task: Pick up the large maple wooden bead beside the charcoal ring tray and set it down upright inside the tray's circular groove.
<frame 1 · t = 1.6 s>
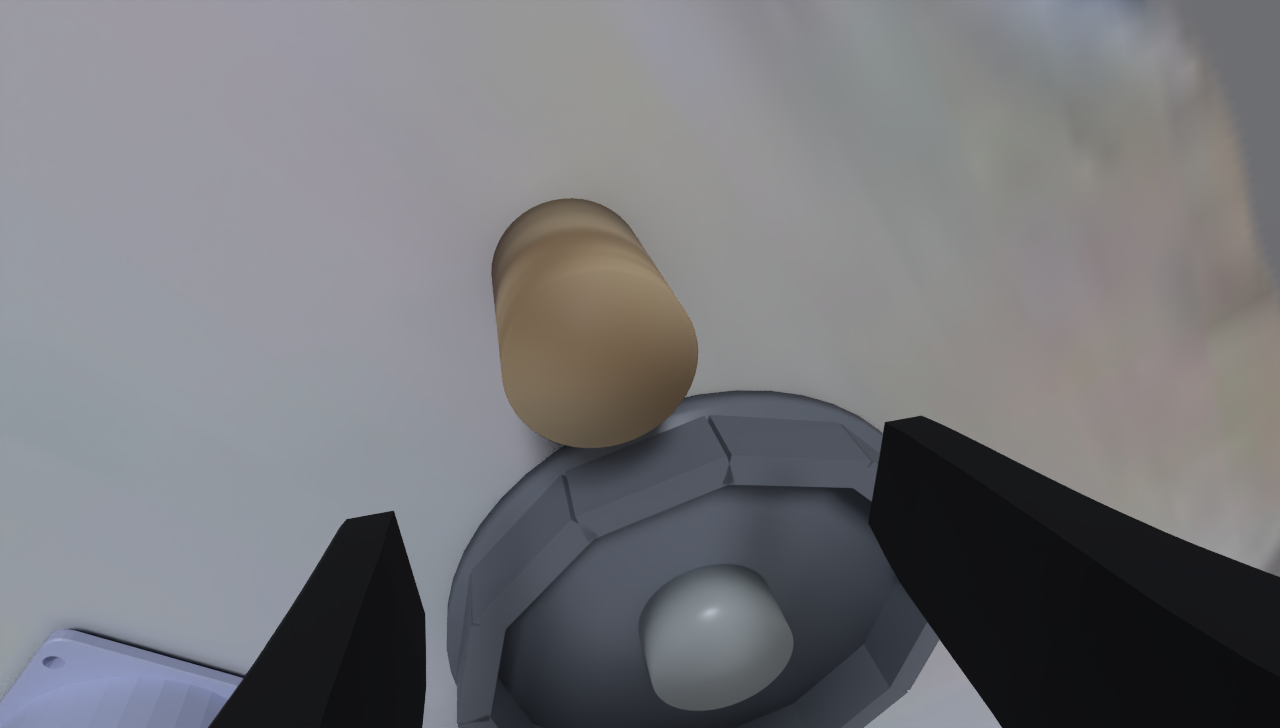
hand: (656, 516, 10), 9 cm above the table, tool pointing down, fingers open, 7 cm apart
ring tray: (699, 597, 25), on the table
bead: (569, 273, 18), on the table
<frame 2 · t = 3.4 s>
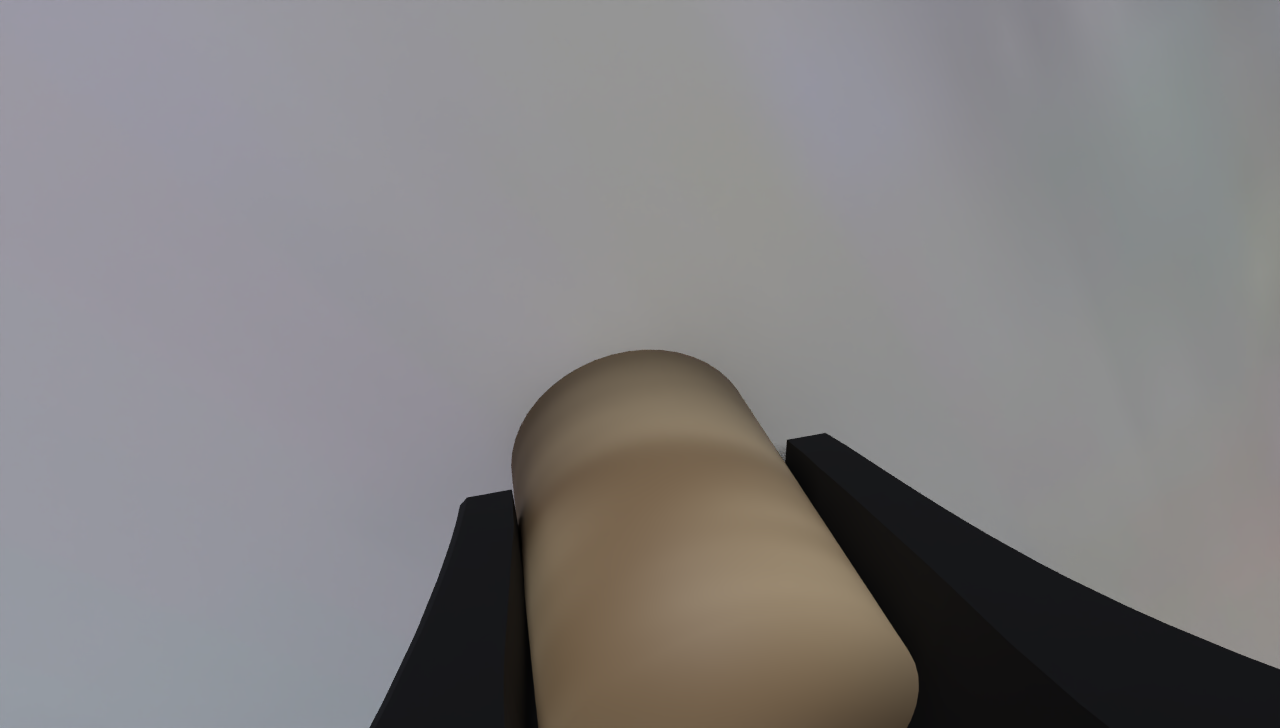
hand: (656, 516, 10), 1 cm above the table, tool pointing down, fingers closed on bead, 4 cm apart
bead: (634, 457, 11), on the table, touching gripper
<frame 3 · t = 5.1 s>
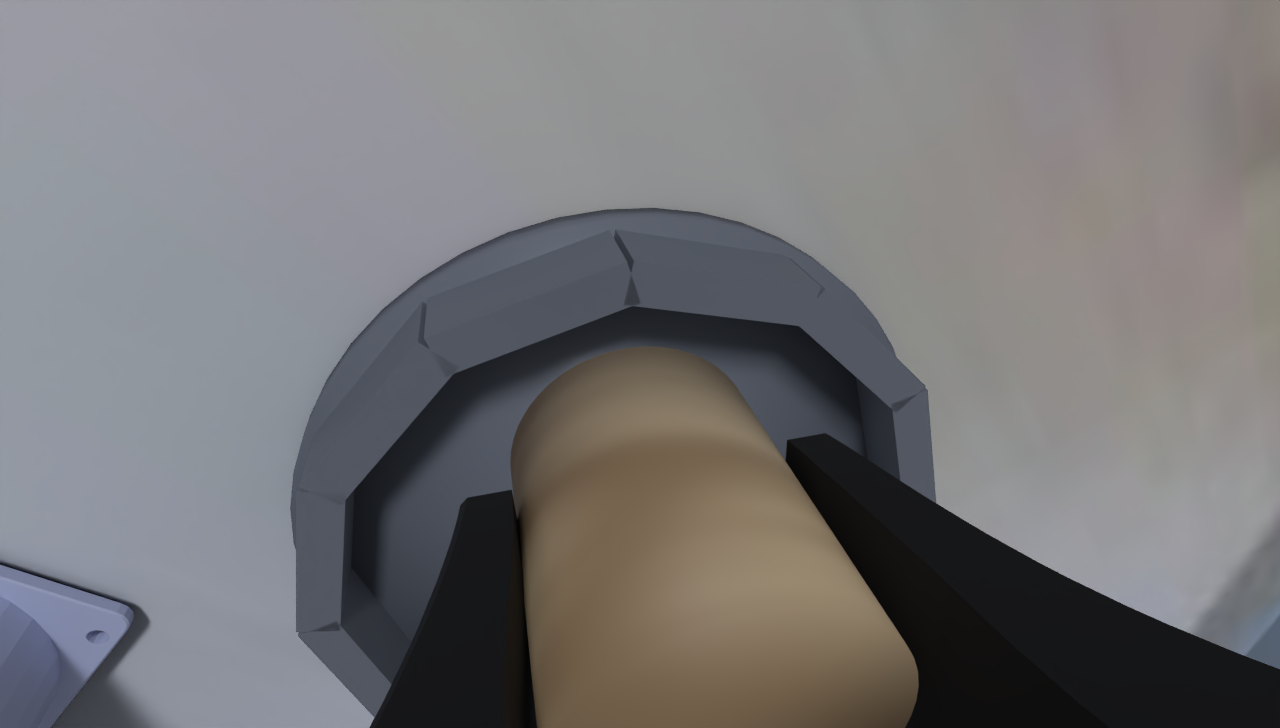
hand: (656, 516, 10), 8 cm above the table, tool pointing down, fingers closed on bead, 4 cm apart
ring tray: (622, 498, 21), on the table
bead: (634, 454, 11), point 7 cm above the table, touching gripper
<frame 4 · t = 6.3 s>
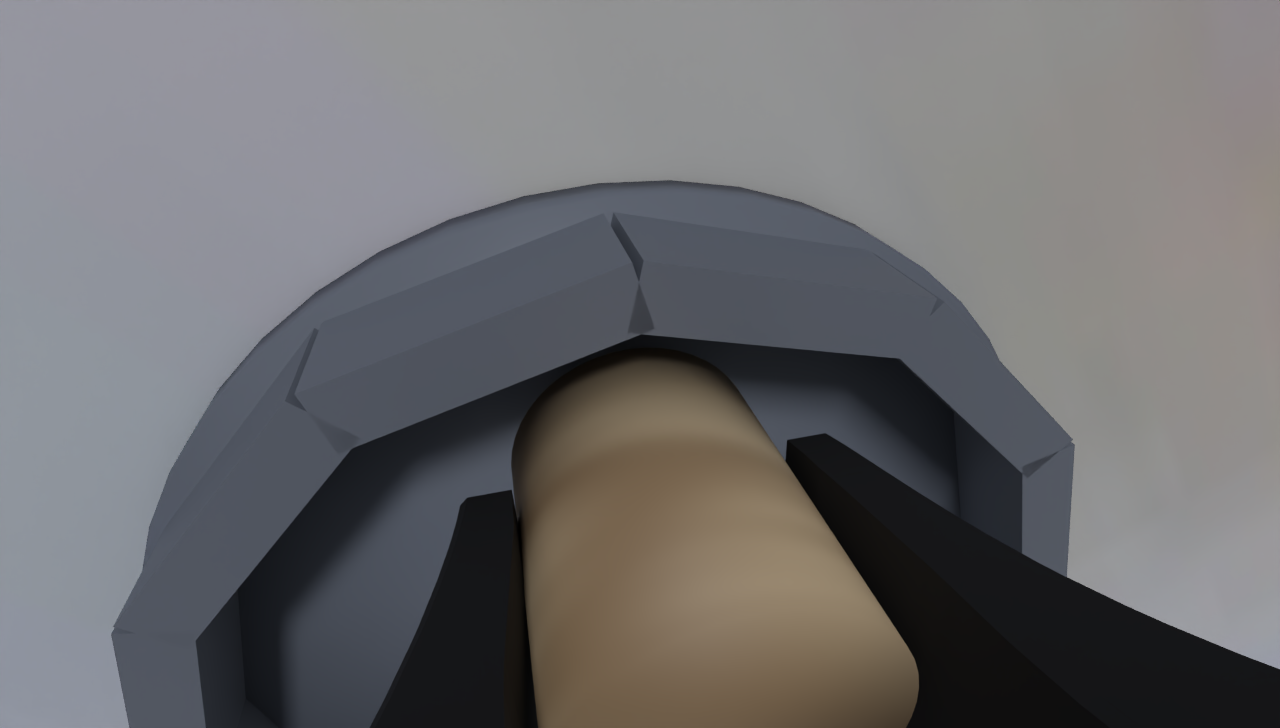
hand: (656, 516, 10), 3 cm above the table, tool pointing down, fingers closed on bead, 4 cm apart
ring tray: (628, 584, 15), on the table
bead: (634, 455, 11), point 2 cm above the table, touching gripper
when the fingers open (3 cm above the table, at t = 7.1 s): bead stays where it is, resting on ring tray.
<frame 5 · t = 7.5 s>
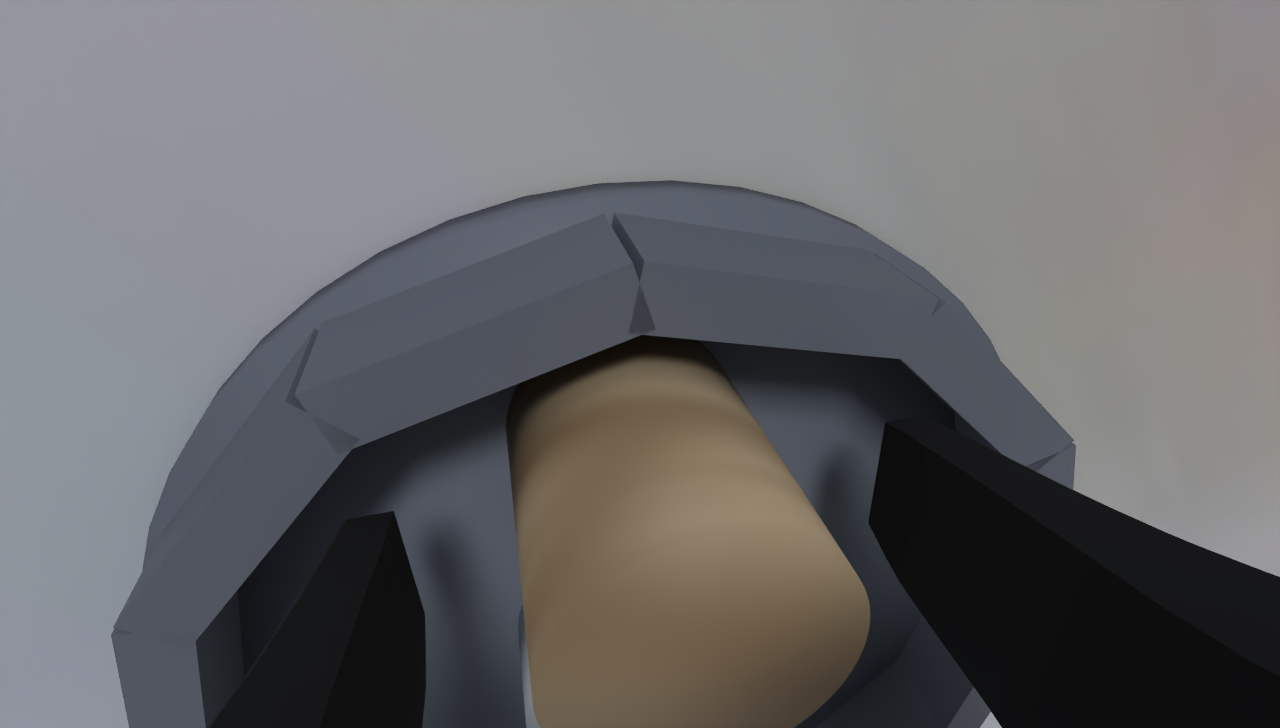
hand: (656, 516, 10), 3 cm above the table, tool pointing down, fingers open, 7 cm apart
ring tray: (628, 585, 15), on the table
bead: (621, 422, 12), point 1 cm above the table, touching ring tray
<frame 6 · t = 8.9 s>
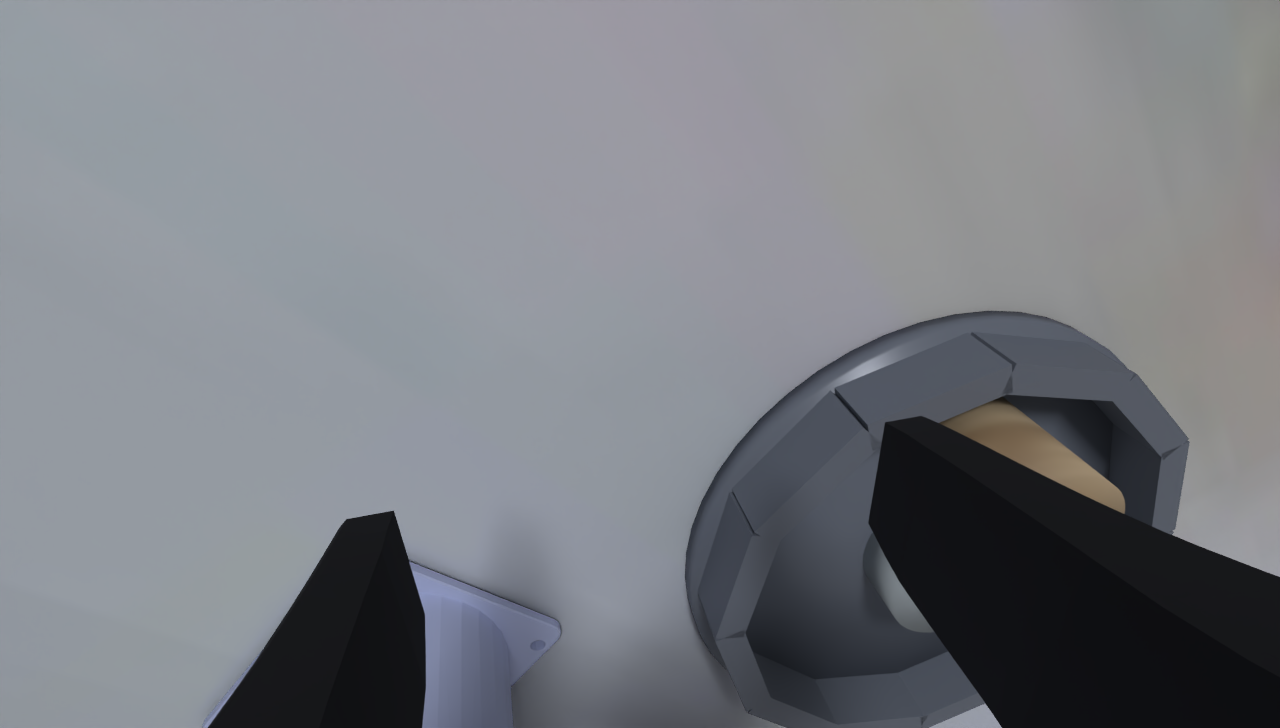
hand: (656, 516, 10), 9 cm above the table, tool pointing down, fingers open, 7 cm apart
ring tray: (913, 526, 26), on the table
bead: (947, 432, 23), point 1 cm above the table, touching ring tray
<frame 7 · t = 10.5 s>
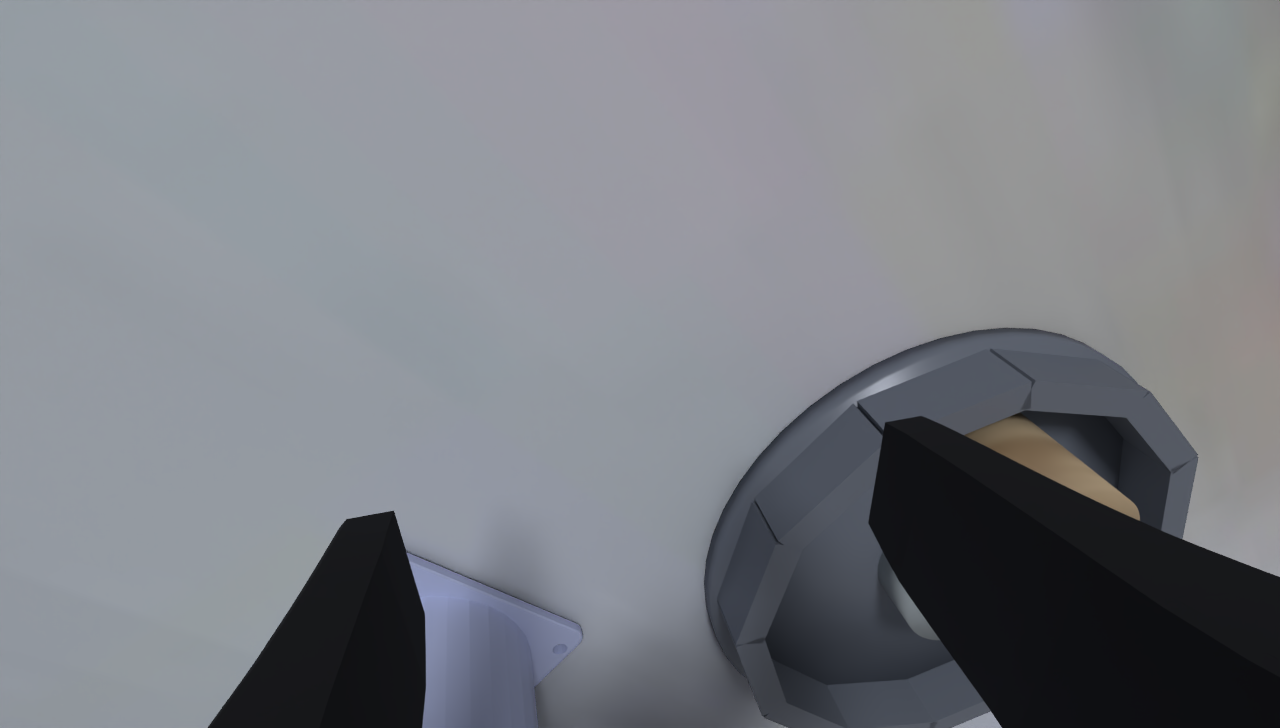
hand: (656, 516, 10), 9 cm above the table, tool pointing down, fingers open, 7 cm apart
ring tray: (926, 536, 27), on the table
bead: (963, 445, 23), point 1 cm above the table, touching ring tray
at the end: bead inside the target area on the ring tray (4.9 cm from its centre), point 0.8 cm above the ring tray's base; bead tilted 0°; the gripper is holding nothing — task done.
